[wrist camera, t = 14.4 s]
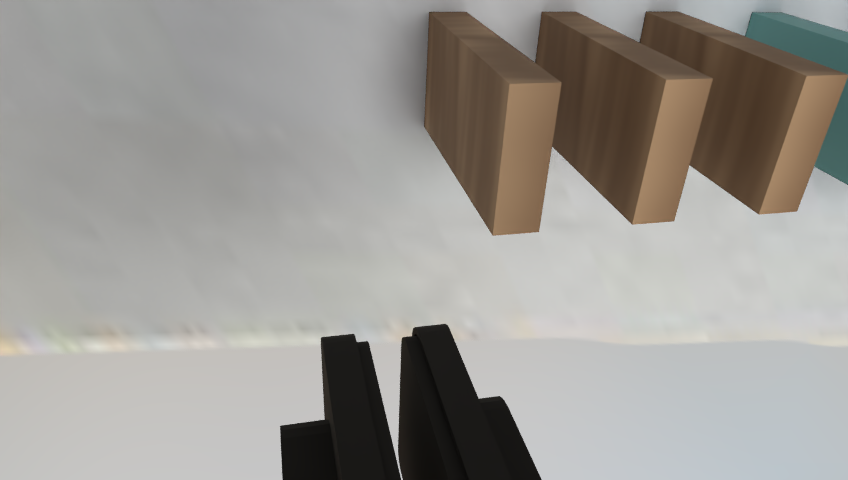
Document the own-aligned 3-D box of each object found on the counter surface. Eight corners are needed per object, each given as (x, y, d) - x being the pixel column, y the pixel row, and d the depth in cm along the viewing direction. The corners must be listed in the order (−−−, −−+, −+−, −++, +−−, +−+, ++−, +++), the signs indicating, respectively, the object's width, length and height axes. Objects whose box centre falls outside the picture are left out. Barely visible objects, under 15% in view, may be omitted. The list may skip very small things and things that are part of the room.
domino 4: (722, 115, 33) (885, 205, 24) (752, 12, 30) (945, 73, 22) (749, 114, 33) (919, 202, 25) (781, 12, 30) (982, 72, 22)
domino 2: (527, 122, 30) (632, 224, 22) (541, 11, 28) (666, 79, 19) (559, 121, 31) (673, 221, 22) (576, 11, 28) (712, 78, 20)
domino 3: (623, 118, 31) (758, 214, 23) (646, 11, 29) (806, 75, 20) (653, 117, 32) (796, 211, 23) (677, 11, 29) (848, 74, 21)
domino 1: (424, 126, 29) (492, 235, 21) (429, 11, 27) (509, 84, 18) (458, 125, 30) (538, 231, 21) (466, 12, 27) (561, 82, 19)
